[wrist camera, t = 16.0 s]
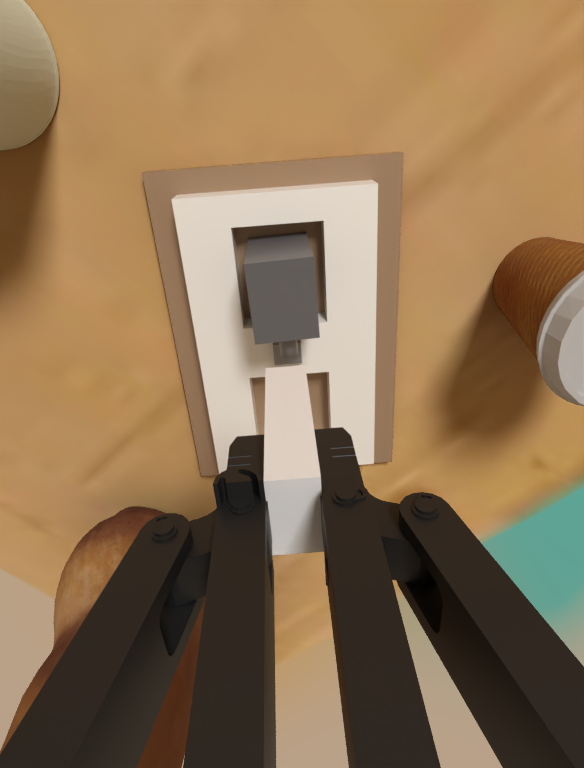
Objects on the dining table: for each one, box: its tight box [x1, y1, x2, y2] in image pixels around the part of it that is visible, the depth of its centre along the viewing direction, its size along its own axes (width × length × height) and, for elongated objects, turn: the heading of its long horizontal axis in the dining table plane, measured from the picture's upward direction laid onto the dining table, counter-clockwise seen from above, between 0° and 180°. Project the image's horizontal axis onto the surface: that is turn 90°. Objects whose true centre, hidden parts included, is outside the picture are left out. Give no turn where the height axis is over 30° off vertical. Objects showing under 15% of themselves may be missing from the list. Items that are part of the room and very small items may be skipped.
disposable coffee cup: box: [493, 237, 584, 406], centre depth 32 cm, size 10×10×12 cm
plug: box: [244, 231, 320, 358], centre depth 33 cm, size 4×7×7 cm, turn 6°
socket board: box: [142, 152, 403, 476], centre depth 37 cm, size 17×25×3 cm
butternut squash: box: [0, 507, 206, 768], centre depth 37 cm, size 14×13×25 cm
